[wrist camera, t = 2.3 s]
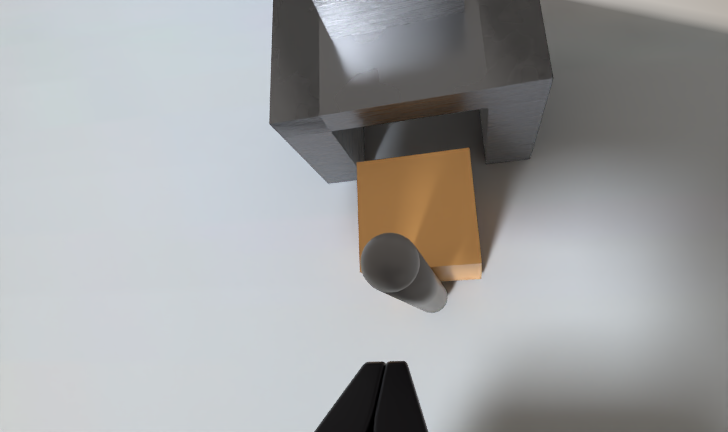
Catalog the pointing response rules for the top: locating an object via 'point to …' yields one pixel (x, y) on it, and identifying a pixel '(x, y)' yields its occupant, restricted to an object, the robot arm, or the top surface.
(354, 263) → the top surface
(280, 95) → the housing
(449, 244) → the plug
